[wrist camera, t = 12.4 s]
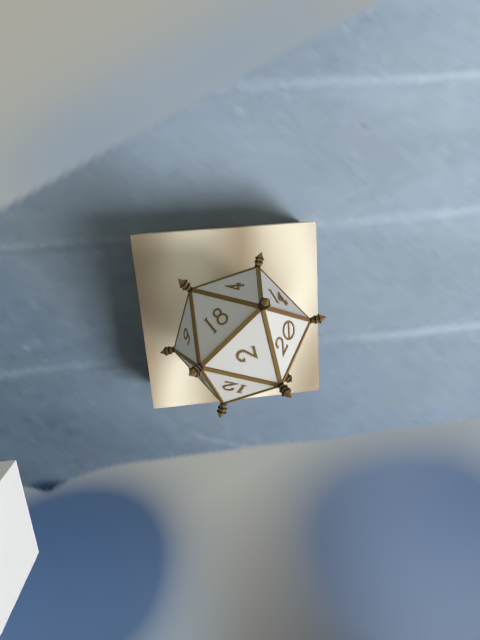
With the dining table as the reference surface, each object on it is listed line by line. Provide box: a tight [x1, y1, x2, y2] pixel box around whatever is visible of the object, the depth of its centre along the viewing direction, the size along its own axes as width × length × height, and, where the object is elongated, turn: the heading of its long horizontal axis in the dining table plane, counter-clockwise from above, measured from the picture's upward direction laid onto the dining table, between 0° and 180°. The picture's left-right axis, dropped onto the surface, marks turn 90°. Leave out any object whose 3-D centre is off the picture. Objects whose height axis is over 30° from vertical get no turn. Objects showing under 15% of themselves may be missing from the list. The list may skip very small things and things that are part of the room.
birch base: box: [130, 222, 319, 409], centre depth 28 cm, size 12×12×4 cm
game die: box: [160, 252, 326, 418], centre depth 22 cm, size 9×8×10 cm
